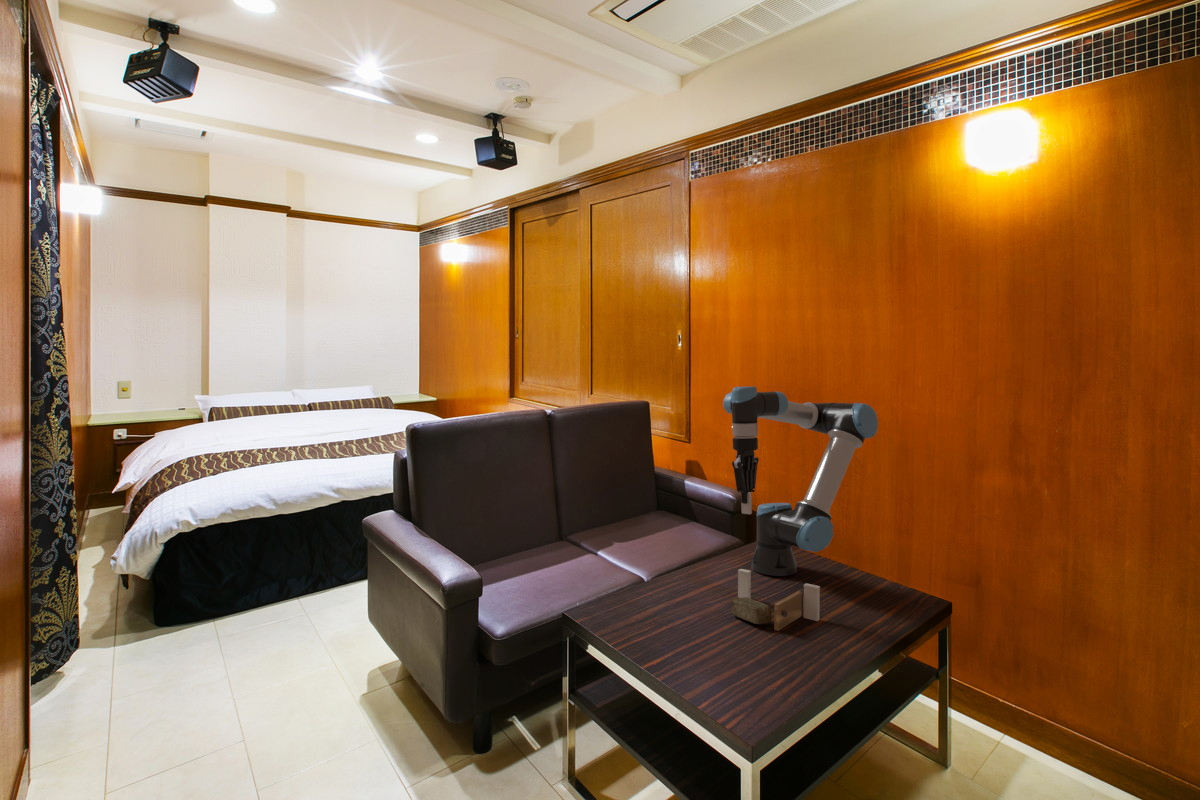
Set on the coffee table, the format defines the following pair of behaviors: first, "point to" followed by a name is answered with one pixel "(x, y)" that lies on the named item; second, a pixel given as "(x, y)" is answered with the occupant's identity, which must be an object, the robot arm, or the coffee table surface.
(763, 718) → the coffee table surface
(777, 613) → the door
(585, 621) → the coffee table surface
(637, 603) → the coffee table surface
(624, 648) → the coffee table surface
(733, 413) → the robot arm
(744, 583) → the wall frame
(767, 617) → the stone block
